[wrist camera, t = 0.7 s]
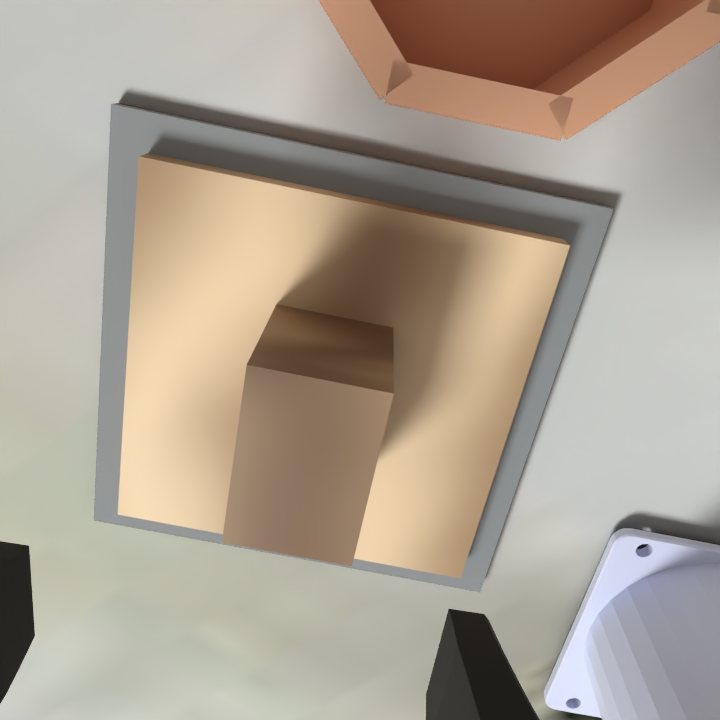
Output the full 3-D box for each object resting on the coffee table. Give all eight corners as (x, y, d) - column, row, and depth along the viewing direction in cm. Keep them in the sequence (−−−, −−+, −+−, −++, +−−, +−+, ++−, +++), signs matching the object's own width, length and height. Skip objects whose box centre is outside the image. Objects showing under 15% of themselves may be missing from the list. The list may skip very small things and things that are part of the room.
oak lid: (563, 239, 18) (619, 294, 13) (458, 563, 22) (474, 684, 18) (148, 153, 17) (66, 181, 13) (125, 501, 22) (59, 608, 17)
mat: (609, 206, 18) (613, 209, 17) (478, 583, 23) (480, 592, 22) (117, 103, 17) (111, 103, 17) (98, 513, 22) (93, 520, 22)
